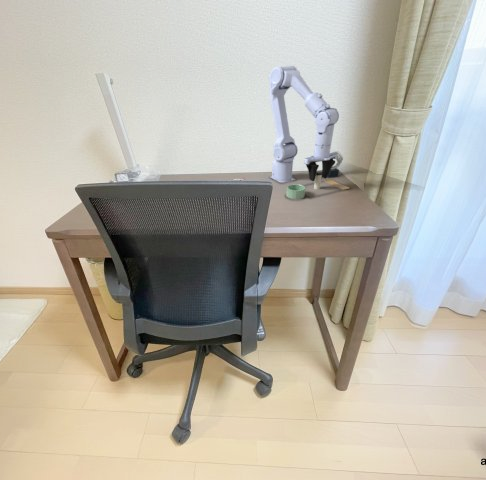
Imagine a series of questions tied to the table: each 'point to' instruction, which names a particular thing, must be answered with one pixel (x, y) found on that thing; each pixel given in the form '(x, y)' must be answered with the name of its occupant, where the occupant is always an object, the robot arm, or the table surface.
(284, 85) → the robot arm
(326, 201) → the table surface
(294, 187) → the pen pot
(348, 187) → the cork mat
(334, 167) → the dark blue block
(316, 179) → the marker
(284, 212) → the table surface
